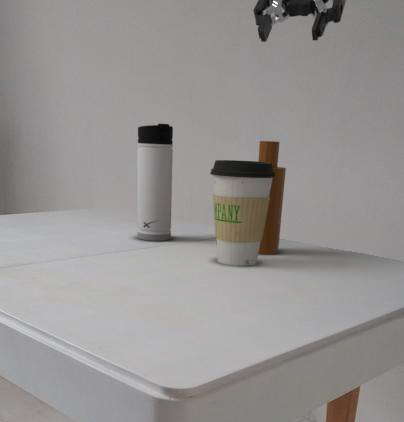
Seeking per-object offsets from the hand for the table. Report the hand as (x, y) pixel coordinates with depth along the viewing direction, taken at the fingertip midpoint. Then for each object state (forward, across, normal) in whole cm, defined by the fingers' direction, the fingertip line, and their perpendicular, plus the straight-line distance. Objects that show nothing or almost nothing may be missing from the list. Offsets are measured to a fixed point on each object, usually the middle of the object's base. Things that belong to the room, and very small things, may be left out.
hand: (287, 36), depth 90 cm
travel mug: (+27, +21, -21) cm, 40 cm away
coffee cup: (+34, 0, -14) cm, 37 cm away
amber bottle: (+26, 0, -21) cm, 34 cm away
